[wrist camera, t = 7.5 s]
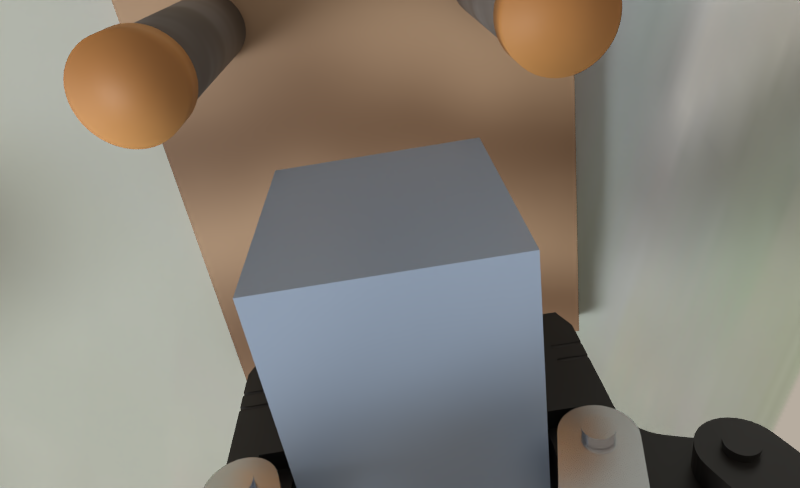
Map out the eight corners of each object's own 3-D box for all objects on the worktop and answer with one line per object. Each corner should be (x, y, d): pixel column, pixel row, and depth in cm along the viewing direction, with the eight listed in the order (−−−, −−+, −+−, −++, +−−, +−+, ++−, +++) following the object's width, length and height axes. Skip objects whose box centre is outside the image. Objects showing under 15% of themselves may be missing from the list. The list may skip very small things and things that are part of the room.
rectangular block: (479, 137, 12) (539, 250, 8) (508, 462, 16) (557, 641, 12) (275, 170, 12) (232, 298, 8) (358, 485, 16) (357, 670, 12)
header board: (571, 317, 22) (662, 486, 16) (251, 369, 23) (207, 558, 16) (558, -214, 15) (724, -322, 8) (78, -129, 15) (-143, -166, 8)
